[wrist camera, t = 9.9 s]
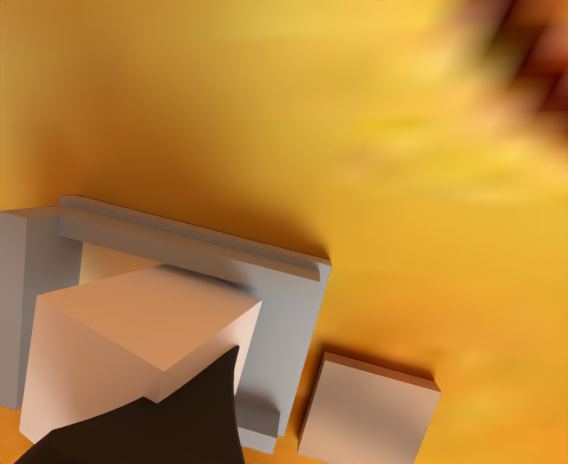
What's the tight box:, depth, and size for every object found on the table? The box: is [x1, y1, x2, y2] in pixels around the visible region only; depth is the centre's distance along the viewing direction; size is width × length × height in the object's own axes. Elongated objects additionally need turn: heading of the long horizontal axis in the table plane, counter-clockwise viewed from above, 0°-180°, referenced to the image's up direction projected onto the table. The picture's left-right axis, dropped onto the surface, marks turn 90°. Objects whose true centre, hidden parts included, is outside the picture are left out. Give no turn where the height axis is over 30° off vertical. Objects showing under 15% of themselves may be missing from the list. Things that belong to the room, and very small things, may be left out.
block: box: [19, 264, 262, 444], centre depth 11 cm, size 5×5×6 cm
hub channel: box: [0, 195, 332, 455], centre depth 14 cm, size 10×14×4 cm
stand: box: [297, 351, 442, 464], centre depth 15 cm, size 6×6×1 cm
